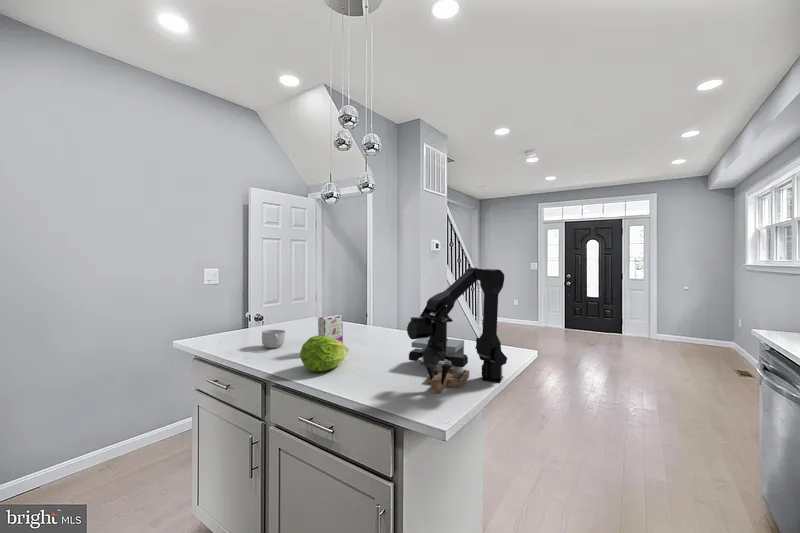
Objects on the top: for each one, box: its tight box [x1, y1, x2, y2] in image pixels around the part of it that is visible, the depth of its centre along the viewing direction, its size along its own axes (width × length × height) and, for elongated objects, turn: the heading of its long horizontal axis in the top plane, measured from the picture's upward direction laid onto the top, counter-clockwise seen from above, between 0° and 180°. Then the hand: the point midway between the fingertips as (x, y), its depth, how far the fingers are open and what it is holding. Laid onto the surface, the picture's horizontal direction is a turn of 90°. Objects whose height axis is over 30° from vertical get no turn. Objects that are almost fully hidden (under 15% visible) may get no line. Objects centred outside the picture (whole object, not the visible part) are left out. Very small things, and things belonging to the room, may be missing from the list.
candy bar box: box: [317, 314, 344, 344], centre depth 167 cm, size 11×5×16 cm, turn 143°
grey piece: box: [411, 337, 465, 356], centre depth 146 cm, size 18×12×10 cm
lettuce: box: [299, 335, 350, 373], centre depth 144 cm, size 15×24×14 cm, turn 152°
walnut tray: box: [426, 361, 470, 395], centre depth 126 cm, size 12×20×6 cm, turn 155°
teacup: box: [261, 329, 286, 349], centre depth 174 cm, size 14×11×8 cm
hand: (437, 383), depth 118 cm, fingers closed on walnut tray, 3 cm apart
